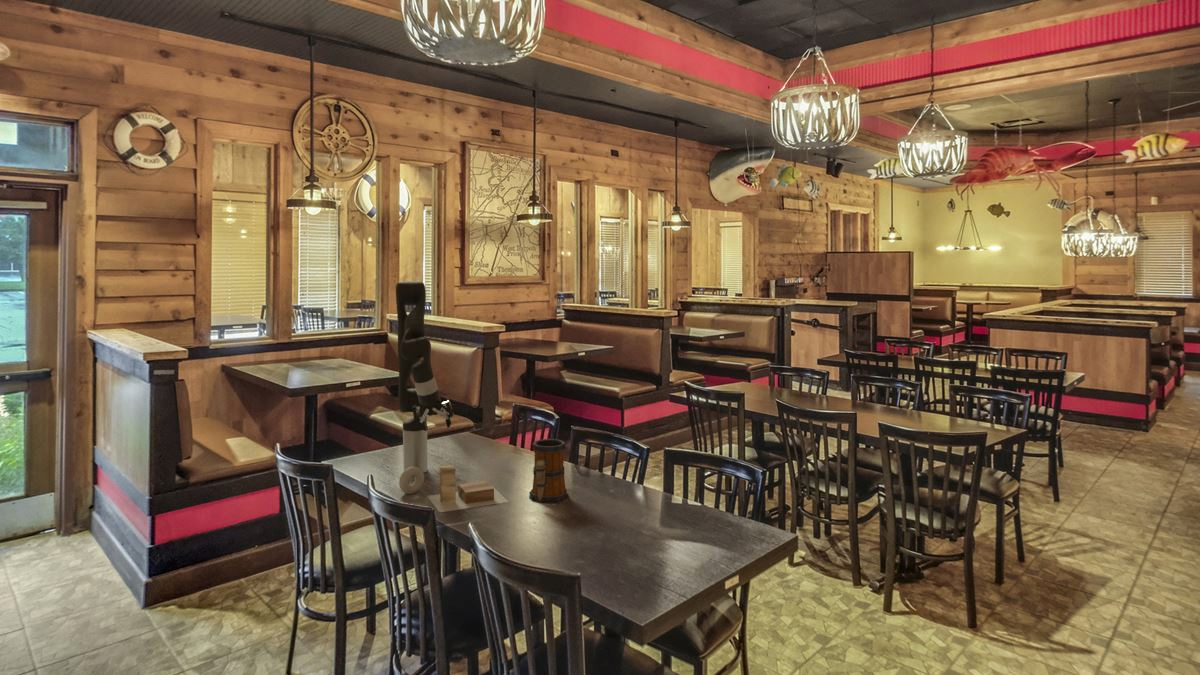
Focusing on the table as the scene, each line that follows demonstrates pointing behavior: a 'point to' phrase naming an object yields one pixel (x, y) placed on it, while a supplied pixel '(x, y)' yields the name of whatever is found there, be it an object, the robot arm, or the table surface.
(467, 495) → the walnut base
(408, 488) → the donut
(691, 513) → the table surface
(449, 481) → the maple pillar
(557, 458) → the mug
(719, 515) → the table surface
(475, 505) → the build mat
